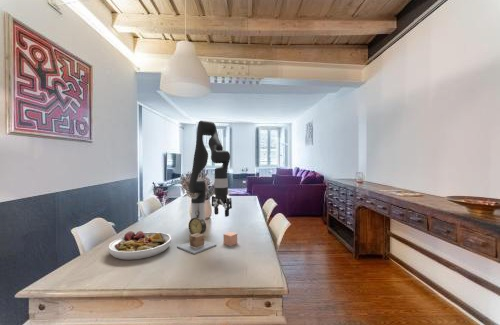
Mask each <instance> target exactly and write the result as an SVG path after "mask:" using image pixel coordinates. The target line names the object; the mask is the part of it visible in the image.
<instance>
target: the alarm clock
mask: <svg viewBox="0 0 500 325" xmlns="http://www.w3.org/2000/svg"><path fill="white" fill-rule="evenodd" d="M198 212H199V211H198ZM195 214H196V212H195ZM199 215H200V212H199ZM199 215H197V217H196V218H192V219H191V218H190V220H189V222H188V231H189V233H190V234H191V235H192V234H196V233H200V234H203V235H204V233H205V232H206V229H207V223H206V220H205V221H204V219H202V218H201V217H198V216H199Z"/></svg>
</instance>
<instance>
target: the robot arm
mask: <svg viewBox="0 0 500 325" xmlns="http://www.w3.org/2000/svg"><path fill="white" fill-rule="evenodd" d="M196 130H197V131H196V141H195V142H196V144H195V147H194V148H195V149H194V154H193V159H192V160H193V163H192V169H191V174H190V178H189V182H188V190H189V193H191V194H196V196H194V197H192V198H191V213H190V220H191V219H192V218H196V217H197V215H199V212H200V215H199V216H198V217H201V218H202V219H204V221H205V222H206V206H205V205H206V202H205V201H206V191H207V190H206V187H207V186H206V182H205V179H198V178H199V175H200V174H201V173H202V172H203V170H204V169H205V168H206V166H207V164H208V160H209V153H208V150H207V148H206V146H205V143H204V140H203V139H204V136H208V137H209V136H210V138H209V139H208V147H209V149H210V152H211V153H210V154H211V155H210V159H211V162H212V163H214V164H222V165H221V166H219V167H216V168H215V169H214V182H213V184H214V185H213V186H214V187H213V188H214V189H213V190H214V195H212V196H211V207H213V208H214V210H213V212H214V215H219V206H222V207H223V208H224V217H226V218H228V217H229V216H230V210H231V209H232V208H233V201H232V197H228V195H229V182H228V169H229V164H230V160H231V154H230V152H229V151H228V150H224V147H223V145H222V142H221V140H220V138H219V134H218V131H217V126H216V124H215V122H213V121H210V120H209V121H207V120H200V121H199V122H198V123H197V129H196ZM198 211H199V212H198ZM195 212H196V214H195Z"/></svg>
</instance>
